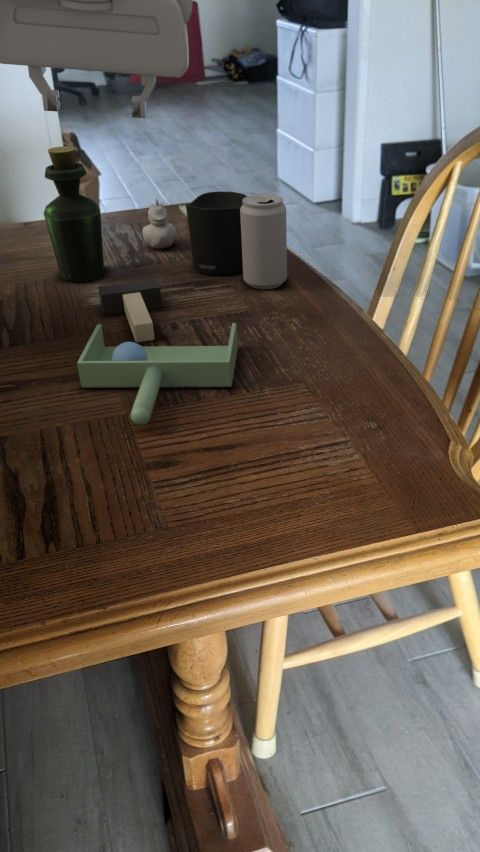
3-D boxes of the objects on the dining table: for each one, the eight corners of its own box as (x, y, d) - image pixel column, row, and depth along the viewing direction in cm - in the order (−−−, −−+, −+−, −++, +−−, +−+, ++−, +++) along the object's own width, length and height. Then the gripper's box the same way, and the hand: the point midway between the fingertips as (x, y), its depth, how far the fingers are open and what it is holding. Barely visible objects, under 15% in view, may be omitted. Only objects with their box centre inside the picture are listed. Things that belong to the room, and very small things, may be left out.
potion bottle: (110, 264, 122) (93, 141, 112) (108, 282, 116) (89, 154, 105) (58, 267, 122) (35, 144, 111) (52, 286, 115) (27, 157, 105)
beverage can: (258, 294, 111) (255, 208, 104) (235, 280, 115) (231, 197, 108) (295, 284, 113) (295, 200, 106) (272, 271, 118) (270, 189, 111)
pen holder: (182, 262, 122) (176, 197, 116) (236, 252, 125) (233, 188, 120) (205, 281, 115) (200, 213, 109) (262, 270, 118) (260, 203, 113)
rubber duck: (147, 254, 126) (142, 203, 121) (141, 242, 131) (135, 192, 126) (181, 250, 127) (176, 199, 122) (172, 238, 132) (168, 189, 127)
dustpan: (101, 349, 97) (97, 324, 95) (237, 348, 96) (236, 322, 94) (59, 436, 80) (52, 407, 78) (223, 436, 79) (221, 407, 78)
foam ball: (135, 341, 91) (114, 368, 92) (120, 330, 88) (99, 358, 88) (159, 360, 90) (138, 387, 91) (146, 349, 87) (124, 378, 87)
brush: (101, 307, 108) (114, 348, 98) (98, 286, 106) (110, 326, 96) (158, 299, 110) (176, 339, 100) (156, 279, 108) (174, 317, 98)
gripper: (194, -34, 79) (192, 110, 88) (-12, -52, 78) (8, 96, 87) (190, -20, 74) (189, 130, 84) (-29, -39, 73) (-5, 115, 82)
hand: (96, 113), depth 85 cm, fingers open, 8 cm apart
